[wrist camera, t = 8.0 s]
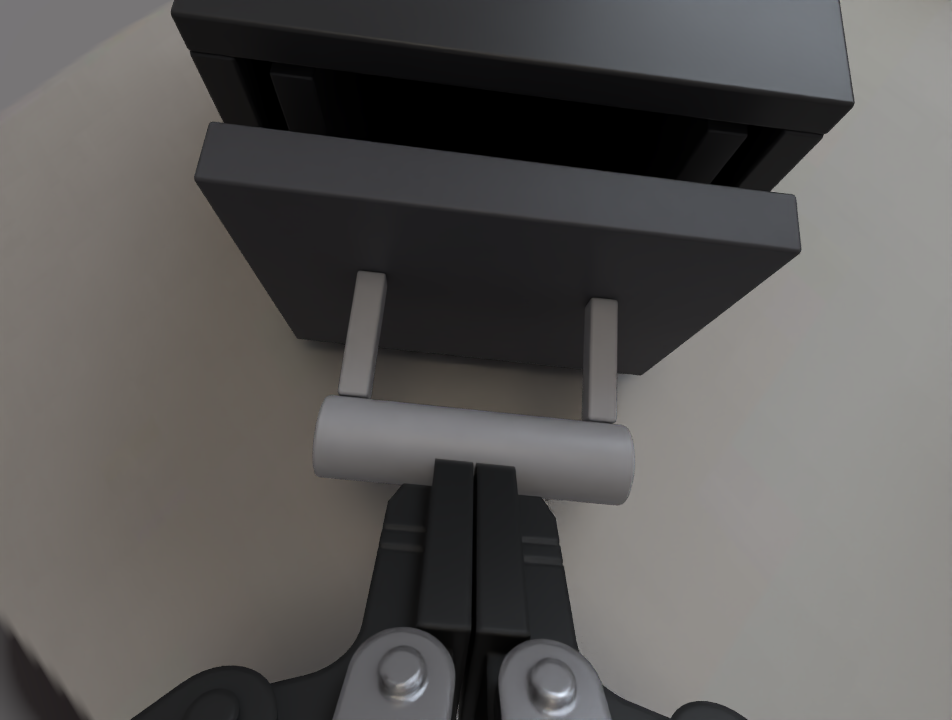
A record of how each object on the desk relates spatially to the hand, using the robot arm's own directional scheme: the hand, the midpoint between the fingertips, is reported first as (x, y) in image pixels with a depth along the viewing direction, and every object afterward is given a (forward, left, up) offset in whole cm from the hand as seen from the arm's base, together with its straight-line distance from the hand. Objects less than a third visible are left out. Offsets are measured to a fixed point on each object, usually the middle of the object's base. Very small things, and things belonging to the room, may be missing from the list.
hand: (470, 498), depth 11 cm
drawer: (+6, +6, -5) cm, 10 cm away
